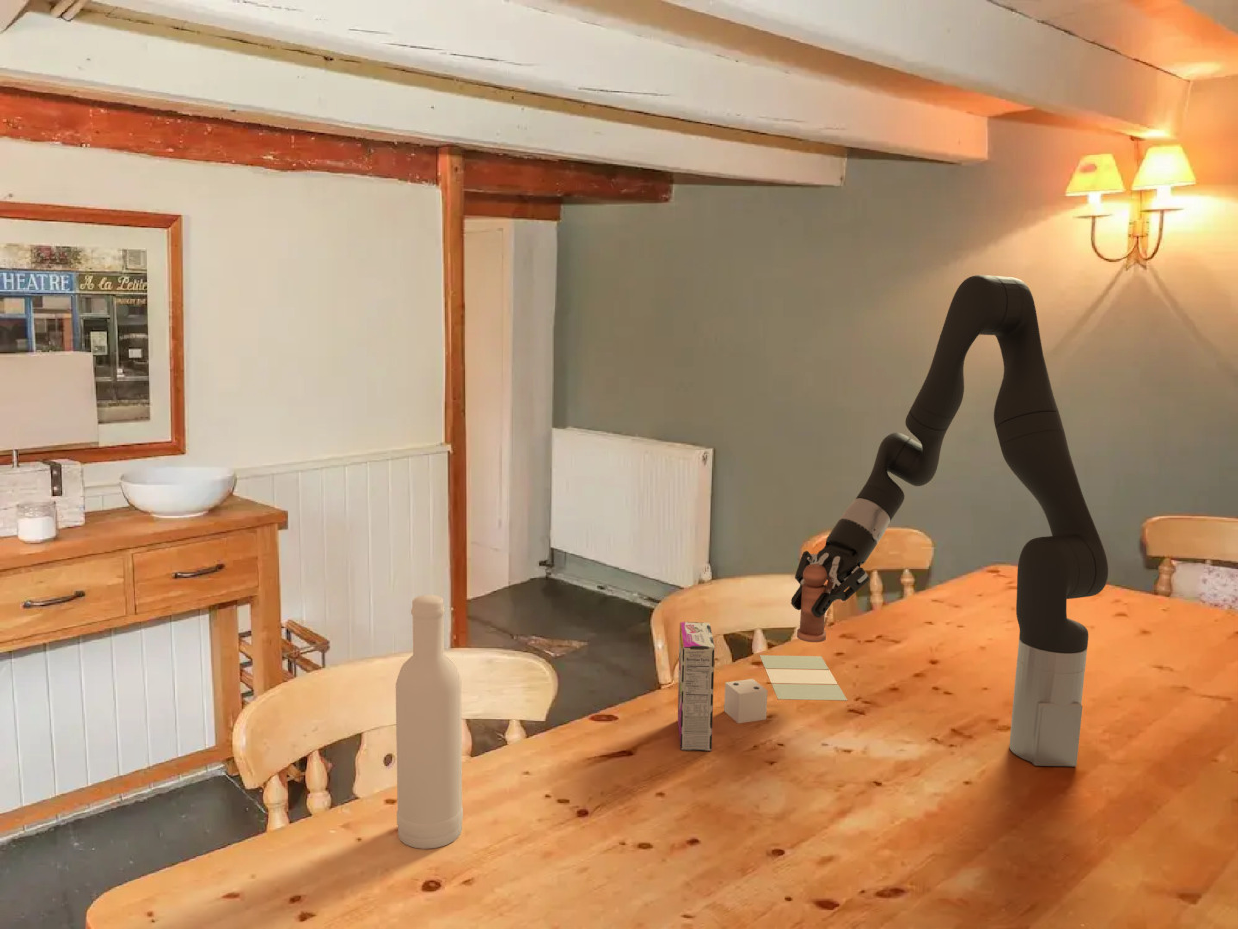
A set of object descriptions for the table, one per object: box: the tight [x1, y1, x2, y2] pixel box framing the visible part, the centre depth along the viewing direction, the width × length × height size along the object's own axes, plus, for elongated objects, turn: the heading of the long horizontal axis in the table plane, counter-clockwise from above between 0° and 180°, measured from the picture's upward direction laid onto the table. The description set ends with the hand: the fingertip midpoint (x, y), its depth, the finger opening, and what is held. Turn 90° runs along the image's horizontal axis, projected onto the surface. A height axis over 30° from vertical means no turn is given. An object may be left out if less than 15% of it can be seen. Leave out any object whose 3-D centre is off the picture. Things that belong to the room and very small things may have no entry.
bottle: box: [395, 594, 464, 850], centre depth 119 cm, size 8×8×30 cm
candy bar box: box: [677, 621, 715, 752], centre depth 149 cm, size 11×5×16 cm, turn 179°
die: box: [723, 678, 769, 724], centre depth 158 cm, size 5×5×5 cm
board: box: [759, 654, 848, 701], centre depth 174 cm, size 22×13×1 cm, turn 0°
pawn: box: [796, 563, 828, 643], centre depth 164 cm, size 5×5×13 cm
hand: (805, 610), depth 163 cm, fingers closed on pawn, 4 cm apart
